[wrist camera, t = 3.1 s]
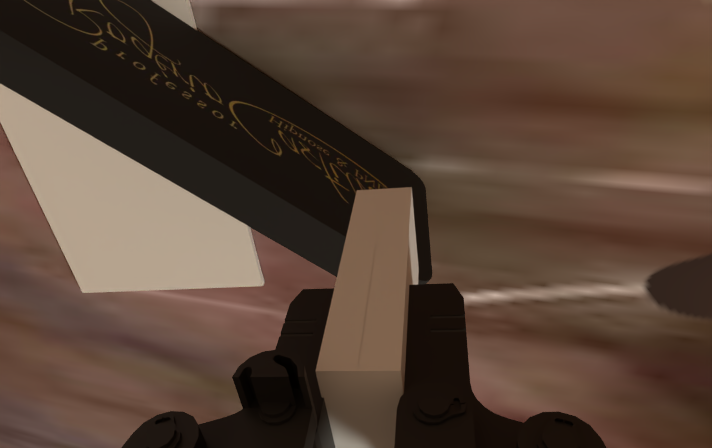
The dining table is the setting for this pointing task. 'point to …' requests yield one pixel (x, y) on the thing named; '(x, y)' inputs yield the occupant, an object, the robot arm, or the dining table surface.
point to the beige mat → (124, 208)
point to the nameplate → (200, 119)
